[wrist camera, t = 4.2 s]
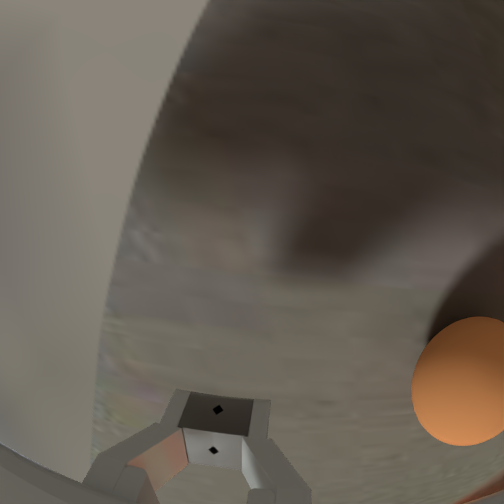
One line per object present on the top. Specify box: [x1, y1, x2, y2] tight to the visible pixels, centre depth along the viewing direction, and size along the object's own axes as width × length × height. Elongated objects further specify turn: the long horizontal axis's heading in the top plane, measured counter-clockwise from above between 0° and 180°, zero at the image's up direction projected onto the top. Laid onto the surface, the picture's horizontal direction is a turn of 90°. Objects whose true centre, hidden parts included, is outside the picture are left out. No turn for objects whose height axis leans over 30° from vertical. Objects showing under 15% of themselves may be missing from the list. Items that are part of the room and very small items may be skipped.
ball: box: [412, 316, 504, 446], centre depth 10 cm, size 6×6×6 cm
